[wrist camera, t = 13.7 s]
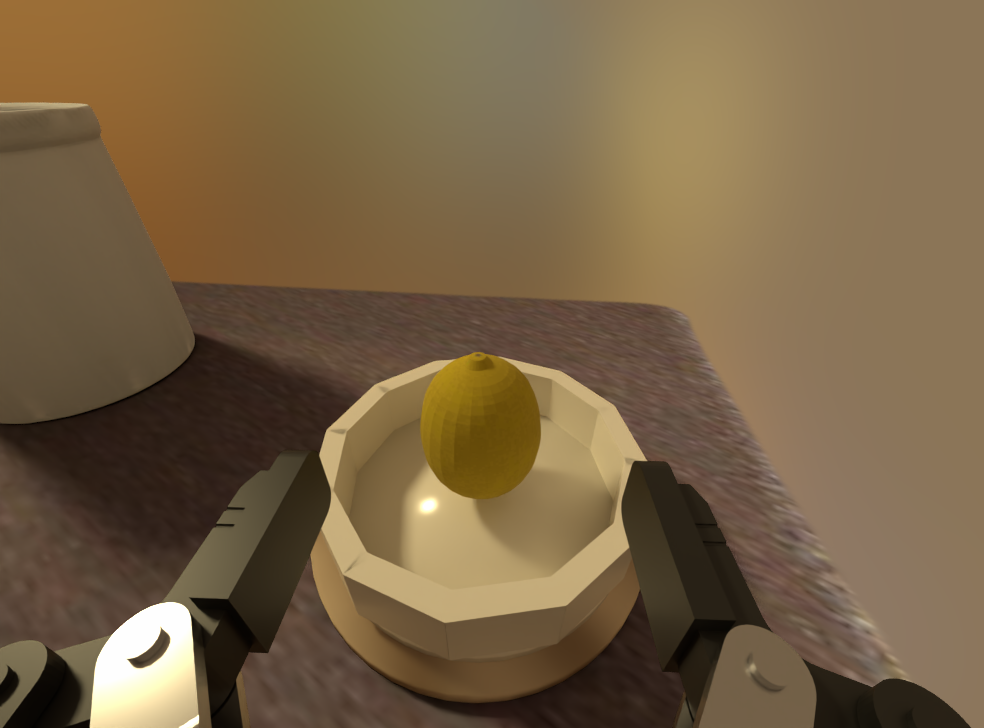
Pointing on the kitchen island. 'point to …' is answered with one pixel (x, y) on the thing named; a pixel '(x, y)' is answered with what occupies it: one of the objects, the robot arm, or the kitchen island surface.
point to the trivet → (470, 677)
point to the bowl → (478, 524)
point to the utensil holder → (75, 273)
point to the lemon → (480, 426)
